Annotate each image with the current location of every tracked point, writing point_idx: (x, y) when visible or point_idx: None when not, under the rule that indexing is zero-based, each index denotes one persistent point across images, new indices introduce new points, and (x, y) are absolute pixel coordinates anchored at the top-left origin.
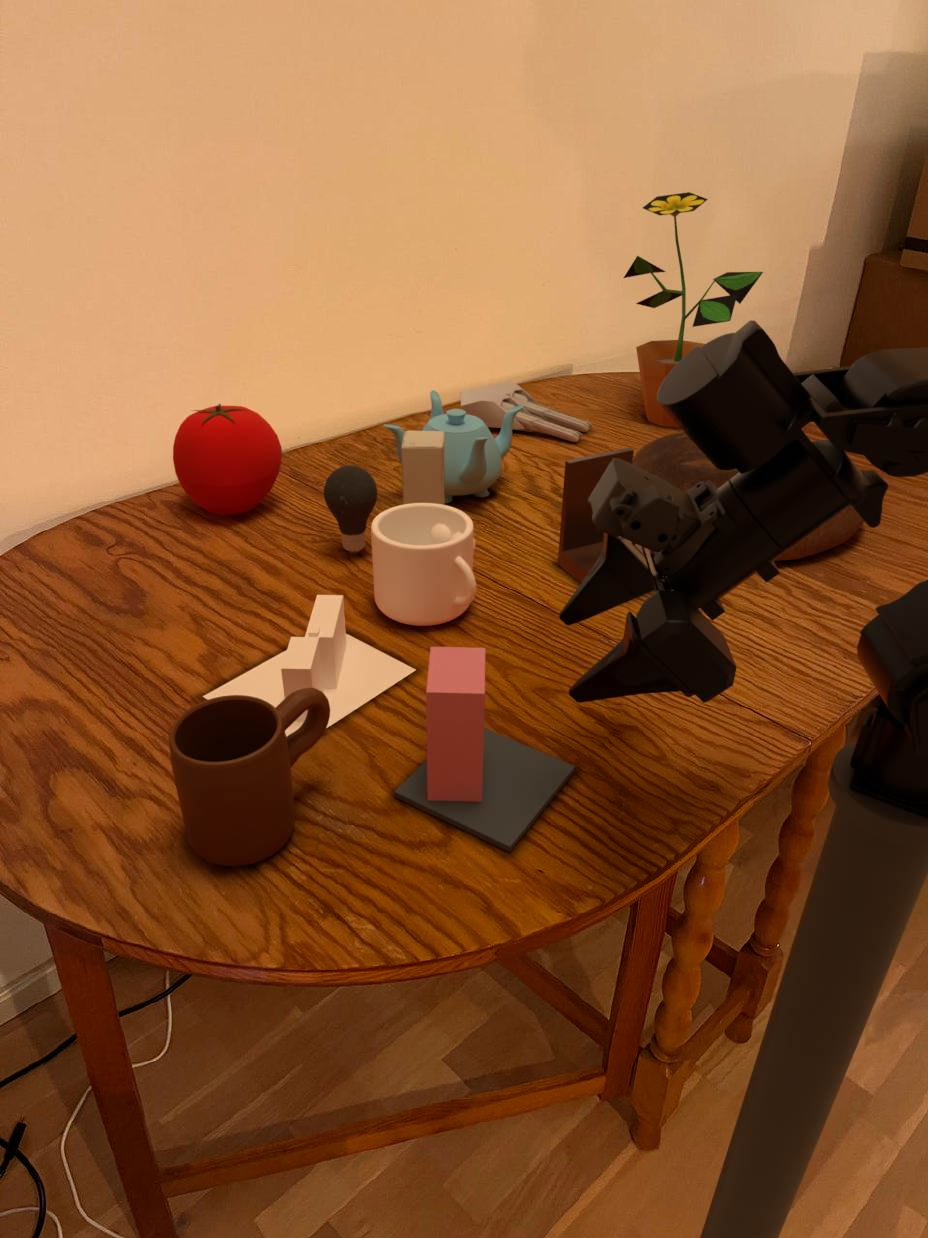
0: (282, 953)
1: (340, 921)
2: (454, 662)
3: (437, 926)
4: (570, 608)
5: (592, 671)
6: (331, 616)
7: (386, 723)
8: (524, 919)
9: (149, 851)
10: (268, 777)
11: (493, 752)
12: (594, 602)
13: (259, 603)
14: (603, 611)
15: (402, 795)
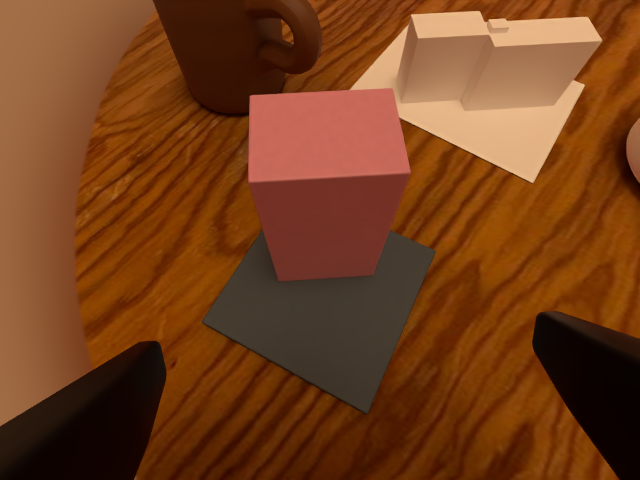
0: (96, 136)
1: (124, 171)
2: (347, 126)
3: (105, 254)
4: (569, 338)
5: (61, 402)
6: (542, 37)
7: (416, 166)
8: (100, 346)
9: None
10: (172, 18)
11: (376, 289)
12: (630, 431)
13: (593, 20)
14: (616, 473)
15: None
